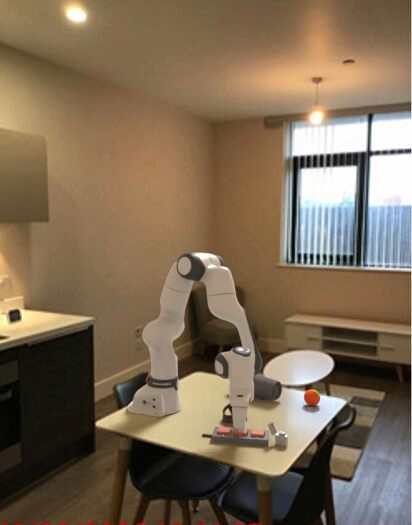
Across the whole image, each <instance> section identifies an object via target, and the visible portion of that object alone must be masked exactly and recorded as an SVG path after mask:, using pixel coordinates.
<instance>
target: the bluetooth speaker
mask: <svg viewBox="0 0 412 525" xmlns="http://www.w3.org/2000/svg"><path fill="white" fill-rule="evenodd" d="M253 382H254V399H258V400H263V401H264V400H266V399H267V400H271V401H277V400H278V399H280V397H281V395H282V392H283V386H282V383H281V381H279V380H276V379H273V378H271V377H268V376H263V375H259V374H257V375H254V376H253Z"/></svg>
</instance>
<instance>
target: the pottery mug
mask: <svg viewBox="0 0 412 525" xmlns="http://www.w3.org/2000/svg"><path fill="white" fill-rule="evenodd" d="M227 410H229V412H230V415H229V414H226V411H227ZM247 420H248V415H247V416H246V421H247ZM222 421H223V422H227V423H230V422H233V416H232V406H230V402H229V403H228V404H226V405H225V406H224V407H223V409H222Z"/></svg>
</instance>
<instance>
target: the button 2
mask: <svg viewBox="0 0 412 525" xmlns="http://www.w3.org/2000/svg"><path fill="white" fill-rule="evenodd" d="M247 429H248V428H244V431H243V433H241V432H239V431H238V429H235V431H234V435H237V436H247Z"/></svg>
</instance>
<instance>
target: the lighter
mask: <svg viewBox="0 0 412 525" xmlns="http://www.w3.org/2000/svg"><path fill="white" fill-rule="evenodd" d="M267 426H268V428H269V433H270V434H271V436H275V437H274V438H275V441H274V442H275V445H277V446H281V447H288V445H289V435H288V434H286V433H285V431H281V430H279V431H278V432H277V430H276V427H275V425H274V422H273V421H271V422H268V423H267Z"/></svg>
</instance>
